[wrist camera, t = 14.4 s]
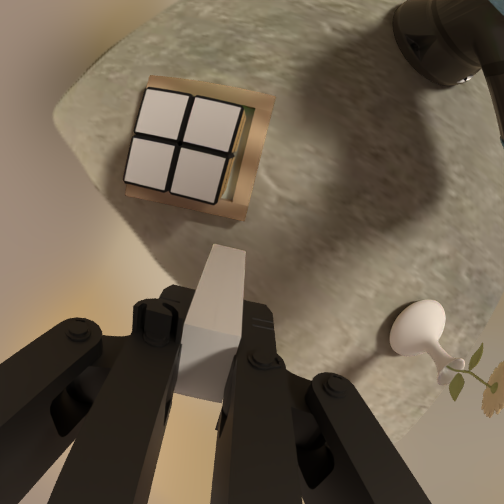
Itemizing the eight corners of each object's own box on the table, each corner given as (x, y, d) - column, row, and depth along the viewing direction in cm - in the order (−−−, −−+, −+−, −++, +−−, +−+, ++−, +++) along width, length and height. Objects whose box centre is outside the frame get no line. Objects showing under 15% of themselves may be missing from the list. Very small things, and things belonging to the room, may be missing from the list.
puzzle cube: (151, 173, 37) (121, 183, 27) (170, 99, 34) (144, 85, 24) (225, 192, 38) (216, 207, 28) (247, 116, 34) (245, 105, 25)
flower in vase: (413, 356, 49) (472, 454, 25) (373, 338, 47) (433, 454, 23) (455, 301, 45) (537, 386, 21) (419, 276, 43) (514, 371, 19)
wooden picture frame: (155, 79, 33) (149, 75, 31) (274, 99, 35) (276, 96, 32) (131, 192, 39) (124, 195, 36) (244, 216, 40) (244, 221, 38)
